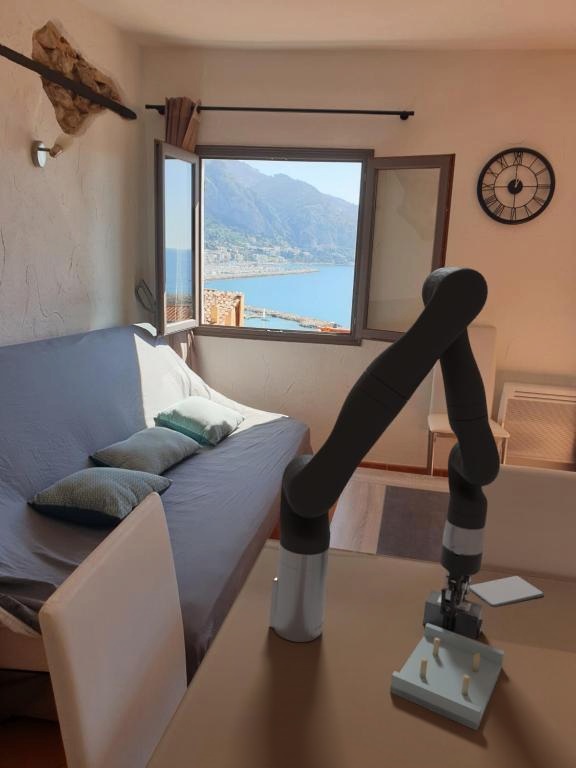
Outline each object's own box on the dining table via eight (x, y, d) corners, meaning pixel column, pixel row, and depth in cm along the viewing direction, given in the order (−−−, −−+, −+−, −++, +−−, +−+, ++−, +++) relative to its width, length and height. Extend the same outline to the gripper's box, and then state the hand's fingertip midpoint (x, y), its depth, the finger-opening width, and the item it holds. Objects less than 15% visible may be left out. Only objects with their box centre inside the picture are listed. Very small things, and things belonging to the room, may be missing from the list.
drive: (422, 624, 115) (425, 600, 115) (428, 612, 120) (431, 589, 119) (477, 642, 111) (481, 617, 110) (481, 628, 115) (485, 605, 114)
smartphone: (466, 585, 131) (517, 574, 137) (465, 589, 131) (516, 578, 137) (492, 605, 123) (545, 593, 129) (492, 609, 124) (544, 597, 130)
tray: (390, 692, 96) (392, 669, 95) (425, 638, 111) (427, 617, 110) (476, 730, 89) (480, 706, 88) (502, 667, 104) (505, 646, 103)
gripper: (453, 526, 120) (443, 601, 123) (432, 552, 108) (421, 635, 111) (491, 536, 116) (480, 614, 120) (473, 564, 104) (461, 650, 107)
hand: (452, 624), depth 115 cm, fingers closed on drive, 5 cm apart
